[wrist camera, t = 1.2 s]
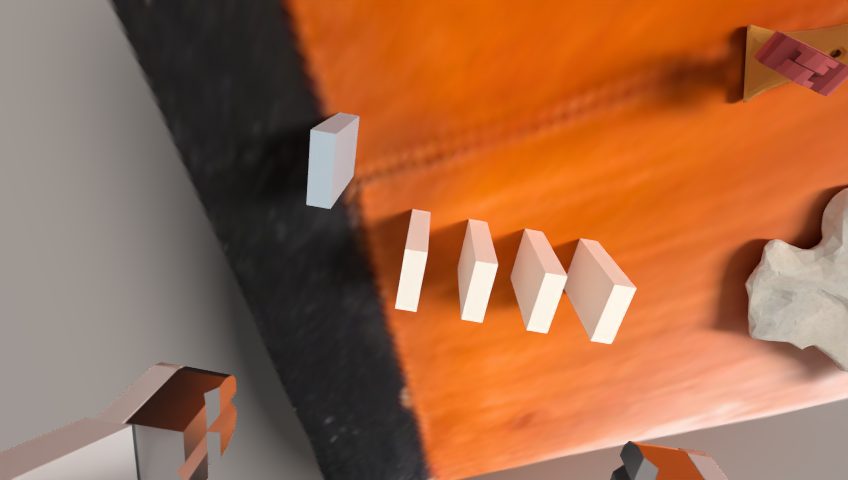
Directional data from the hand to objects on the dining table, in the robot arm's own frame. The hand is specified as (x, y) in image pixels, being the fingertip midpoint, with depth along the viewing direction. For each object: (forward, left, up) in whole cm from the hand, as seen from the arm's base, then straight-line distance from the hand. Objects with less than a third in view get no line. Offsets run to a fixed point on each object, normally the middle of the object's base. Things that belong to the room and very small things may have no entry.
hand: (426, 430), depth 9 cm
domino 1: (+1, -7, -28) cm, 29 cm away
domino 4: (+8, +10, -28) cm, 30 cm away
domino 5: (+8, +15, -28) cm, 32 cm away
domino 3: (+8, +5, -28) cm, 29 cm away
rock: (+7, +37, -28) cm, 47 cm away
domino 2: (+8, 0, -28) cm, 29 cm away
